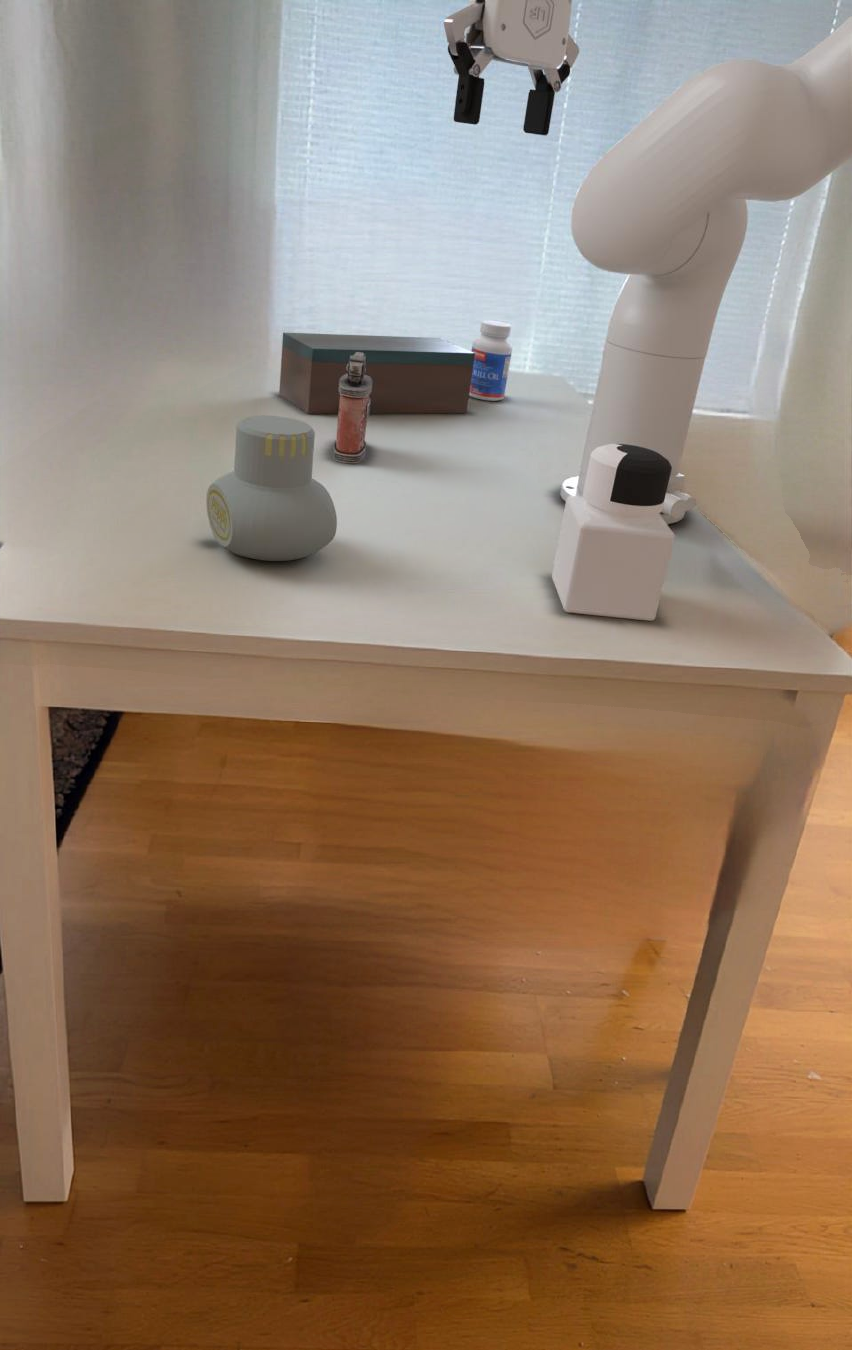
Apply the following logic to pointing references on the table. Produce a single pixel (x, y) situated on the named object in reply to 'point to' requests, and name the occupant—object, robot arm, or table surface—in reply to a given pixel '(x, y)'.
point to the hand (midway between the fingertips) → (501, 129)
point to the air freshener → (272, 494)
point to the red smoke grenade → (353, 411)
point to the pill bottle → (491, 361)
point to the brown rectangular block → (377, 372)
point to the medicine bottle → (616, 536)
